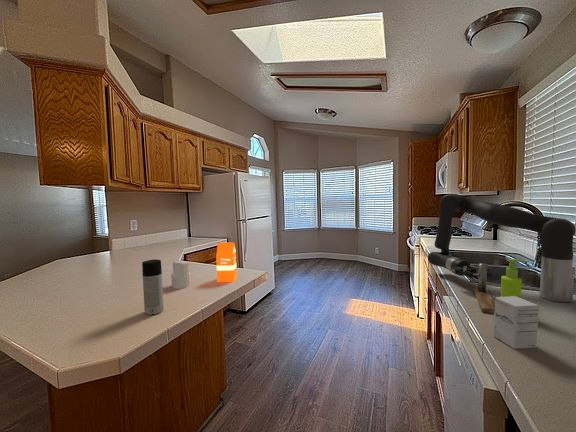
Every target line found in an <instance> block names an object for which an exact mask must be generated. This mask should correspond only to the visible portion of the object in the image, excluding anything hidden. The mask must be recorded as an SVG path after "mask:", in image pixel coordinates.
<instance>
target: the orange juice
mask: <svg viewBox="0 0 576 432" xmlns="http://www.w3.org/2000/svg"><path fill="white" fill-rule="evenodd" d="M215 255H216V259H215V261H216V282H217V283H224V282H225V283H227V282H229V283H233V282H235V281H236V279H237V278H238V277H237V273H238V271H237V250H236V246H235V242H217V248H216V254H215Z"/></svg>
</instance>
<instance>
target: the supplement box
mask: <svg viewBox="0 0 576 432" xmlns="http://www.w3.org/2000/svg"><path fill="white" fill-rule="evenodd" d="M494 300H495V314H494V318H493V322H494V323H493V337H494V338H496V339H498V340H499V341H501V342H503V343H504V344H506V345H508V346H509V347H511V348H513V349H514V350H517V349H533V348H534V349H535V348H537V343H538V330H539V329H538V327H539V313H540V312H539V311H540V305H539V304H536V303H533V302H531V301H529V300H526V299H524V298H522V297H521V298H519V297H516V296H509V297H501V296H496V297H495V298H494Z"/></svg>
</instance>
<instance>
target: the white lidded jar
mask: <svg viewBox="0 0 576 432" xmlns="http://www.w3.org/2000/svg"><path fill="white" fill-rule="evenodd" d="M170 276H171V277H170V279H171V288H172V289H174V288H175V289H176V290H179V289H181V288H182V289H186V287H187V288H189V287H191V285H192V278H191V277H192V275H191V272H190V266H189V262H188V261H182V260H174V261H172V273H171V275H170Z"/></svg>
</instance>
